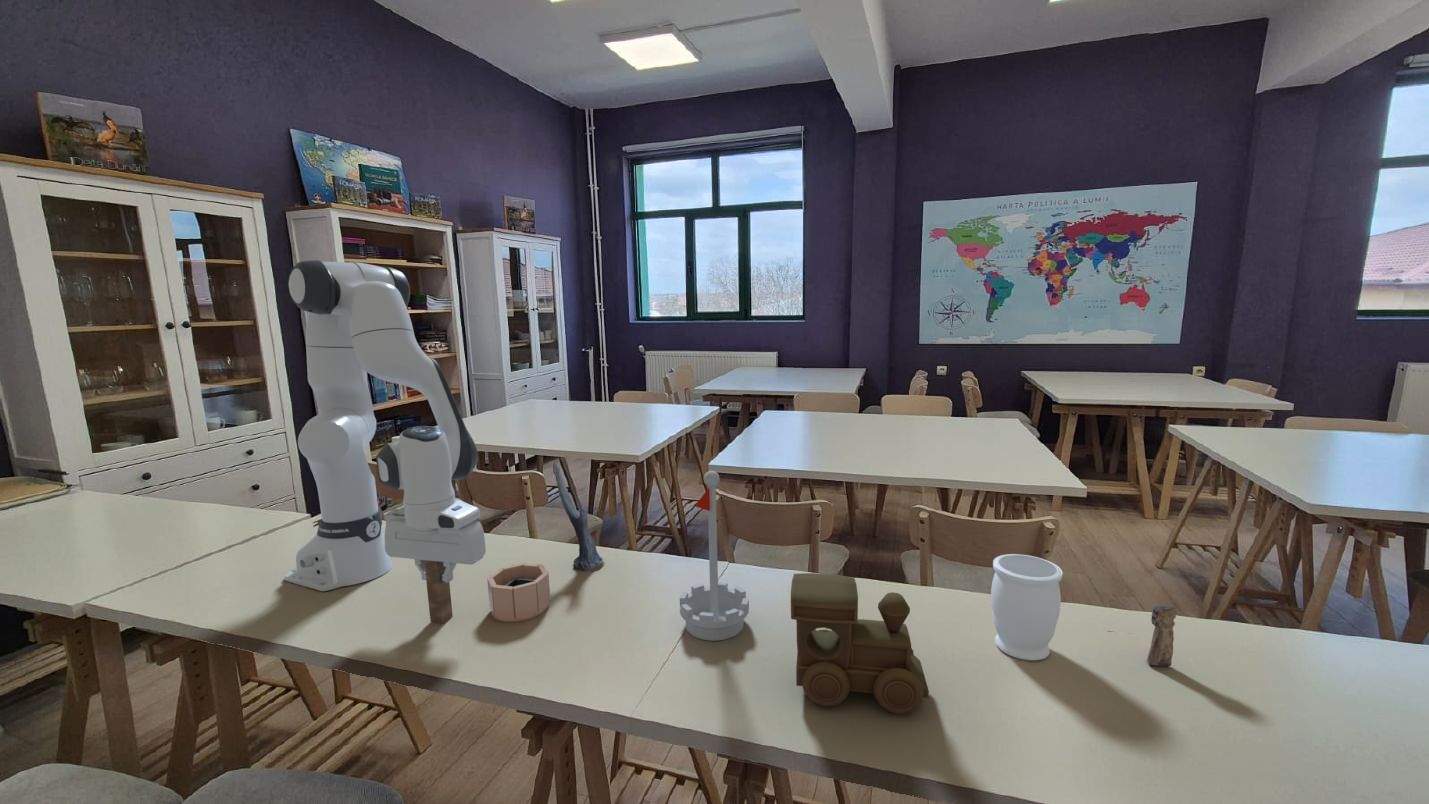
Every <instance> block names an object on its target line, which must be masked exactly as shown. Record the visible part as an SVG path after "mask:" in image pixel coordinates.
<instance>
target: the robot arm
mask: <svg viewBox="0 0 1429 804" xmlns="http://www.w3.org/2000/svg"><path fill="white" fill-rule="evenodd" d="M288 292H289V296H290V299H291V300H292V302H293V304H295V306H297V308H299V309H300V310H302V311H304V312H307V316H306V325H305V350H306V352H305V354H306V367H307V369H306V370H307V371H306V372H307V382H308V384H309V386H310V388H311V389H312V392H313V395H314V398H315V399H314V400H315V402H316V406H317V411H318V412H317V413H318V414H317V415H315V416H313V417H312V418H310V419H308V420H307V422H306V423H305V425H304V426H303V427H302V429H301V431H300V432H299V435H298V437H297V445H298V449H299V452H300V453H301V454H302V456H303V457H304V458H306V460H307V463H308V466H309V467H310V471H311V472H312V475H313V478H314V480H315V483H316V488H317V493H318V501H319V507H320V514H321V518H320V519H317V520H315V521H313V522H312V524H314V525H312V527H313V528H315V527H317V526H318V527H317V532H316V535H314V537H313V538H311V540H309V541H308V542H307V543H306V544H304V545H303V546H302V547H301V548H300V549H299V550H298V551H297V552H296V556H295V565H296V566H295V568H293V569H291V570H290V571H288V572H287V573H286V574H285V575H284V581H286V582H288V583H293V584H296V585H300V586H303V587H306V588H309V589H313V590H317V591H320V592H327V591H331V590H334V589H338V588H342V587H347V586H353V585H357V584H362V583H365V582H368V581H371V580H374V579H377V578H379V577H381V576H383V575H385V574H386V573H388V572H390V570H391V569H393V565H394V563H393V561H392V559H391V558H400V559H410V560H414V564H415V566H416V568H417V570H418V571H419V572H420V575H421V580H422V581H426V573H425V563H424V560H429V561H439V562H443V565H444V567H446V569H445V571H444V572H443V573H441V574H440V578H441V582H446V583H450V582H452V581H453V579H454V573H453V571H454V569H455V568H456V567H457V564H461V565H475V564H476V563H478V562H479V561H481V560H482V559H483V558H484V557H485V555H486V539H485V532H484V529H483V528H484V527H483V525H482V523H481V522H479V521H478V519H480V517H481V512H480V511H481V510H480V508H479V507H477V506H475V505H472V504H469V503H467V502H465V501H463V500H461V499H460V498H457V497H456V495H455V494H456V493H455V489H454V487H453V484H452V481H455V480H456V481H457V480H463V479H467V477H468V476H469V475H470V474H471V473H472V472H473V471H474V469H475V467H476V466H477V464H478V462H479V452H478V449H477V446H476V444H475V441H474V439H473V437H472V435H471V434H470V432H469V431H468V429H467V427H466V425H465V422H464V419H463V417H462V415H461V412H460V410H459V407H458V404H457V402H456V400H455V397H454V395H453V392H452V390H451V388H450V385H449V383H448V381H447V378H446V376H445V373H444V372H443V369H442V368H441V365H440V364H439V363H438V361H437V359H436V360H435V359H434V358H431V357H430V356H428V355H427V353H425V352H424V351H423V349H422V348H421V347H420V345H419V343H418V341H417V339H416V336H415V331H414V327H413V323H412V320H411V317H410V313H409V310H408V308H407V307H408V304H409V303H410V298H411V287H410V283H409V281H408V279H407V277H406V275H405V274H404V273H403V272H402V271H400V270H398V269H396V268H393V267H389V266H386V265H383V266H378V265H373V264H369V263H363V262H356V261H349V262H347V261H346V262H345V261H344V262H343V261H321V260H319V259H317V260H315V259H313V260H304V261H299V262H297V263H296V264H295V265H294V266H293V267H292V268H291V270H290V272H289V277H288ZM368 374H369V375H371V376H373V377H374V378H377V379H379V380H382V381H384V382H387V383H393V384H395V385H401V386H405V387H408V388H411V389H414V390H416V391H418V392H420V393H421V395H422V394H423V396H424V397H425V398H426V400H427V401H428V404H429V406H430V408H431V412H432V413H433V416H434V418H435V421H436V424H437V426H438V427H437V426H433V425H432V426H431V425H417V426H413V427H408V428H406V429H404V430H403V431H401V433H400V434H399V437H398V439H397V440H394V441H391V442H389V443H386V444H385V445H384V446H382V447H381V449H380V450H379V452H377V455H376V456H375V459H376V469H377V475H378V476H377V477H378V480H379V482H380V483H381V484H383V485H384V486H385V487H388V488H390V489H393V490H395V491H397V490H403V499H402V503H403V509H397V508H393V509H391V510H390V511H388V512H387V514H386V515H385V527H384V530H383V527H382V525H383V519H382V518H383V514H382V512H381V509H380V508H379V505H378V504H379V502H378V496H377V488H376V479H375V478H376V477H375V476H374V474H373V473H372V471H371V469H370V466H369V464H368V460H367V456H366V453H365V446H367V444H369V443H370V442H371V441H372V440H373V438H374V436H375V434H376V431H377V419H376V417H375V413H374V407H373V401H372V398H371V393H370V390H369V389H370V388H369V382H368Z"/></svg>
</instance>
